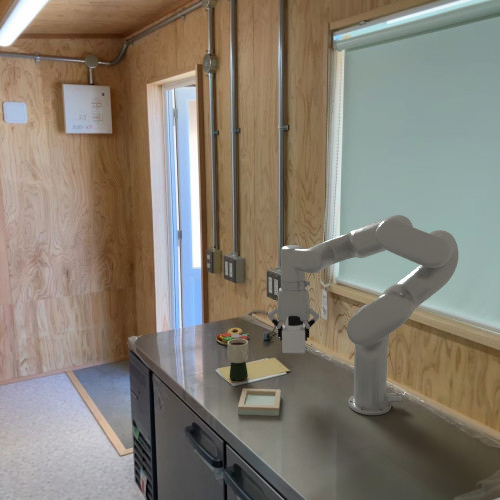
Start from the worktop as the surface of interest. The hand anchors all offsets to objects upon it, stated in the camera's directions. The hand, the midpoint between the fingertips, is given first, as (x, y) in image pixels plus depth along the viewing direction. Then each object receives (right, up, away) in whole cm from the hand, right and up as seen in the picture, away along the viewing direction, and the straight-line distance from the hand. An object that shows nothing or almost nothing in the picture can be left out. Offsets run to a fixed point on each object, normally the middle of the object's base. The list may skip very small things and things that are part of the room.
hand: (293, 339), depth 167 cm
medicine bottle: (0, -4, +1) cm, 4 cm away
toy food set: (-21, -9, +49) cm, 54 cm away
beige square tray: (-11, -19, -6) cm, 23 cm away
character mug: (-18, -16, +13) cm, 27 cm away
